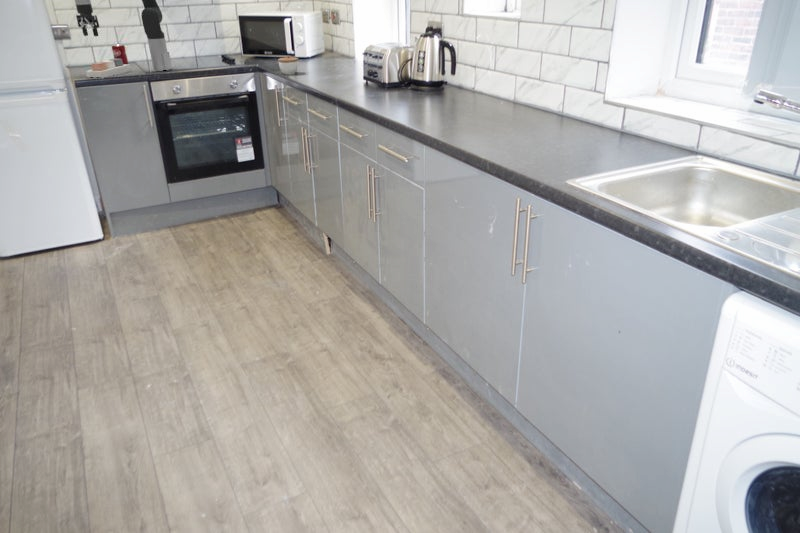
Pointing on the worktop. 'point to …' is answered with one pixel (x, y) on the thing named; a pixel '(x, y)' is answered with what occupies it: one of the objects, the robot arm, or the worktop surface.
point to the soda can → (120, 53)
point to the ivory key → (109, 64)
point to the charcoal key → (117, 62)
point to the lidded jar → (288, 65)
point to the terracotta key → (99, 66)
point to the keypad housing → (109, 71)
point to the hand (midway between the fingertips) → (91, 35)
